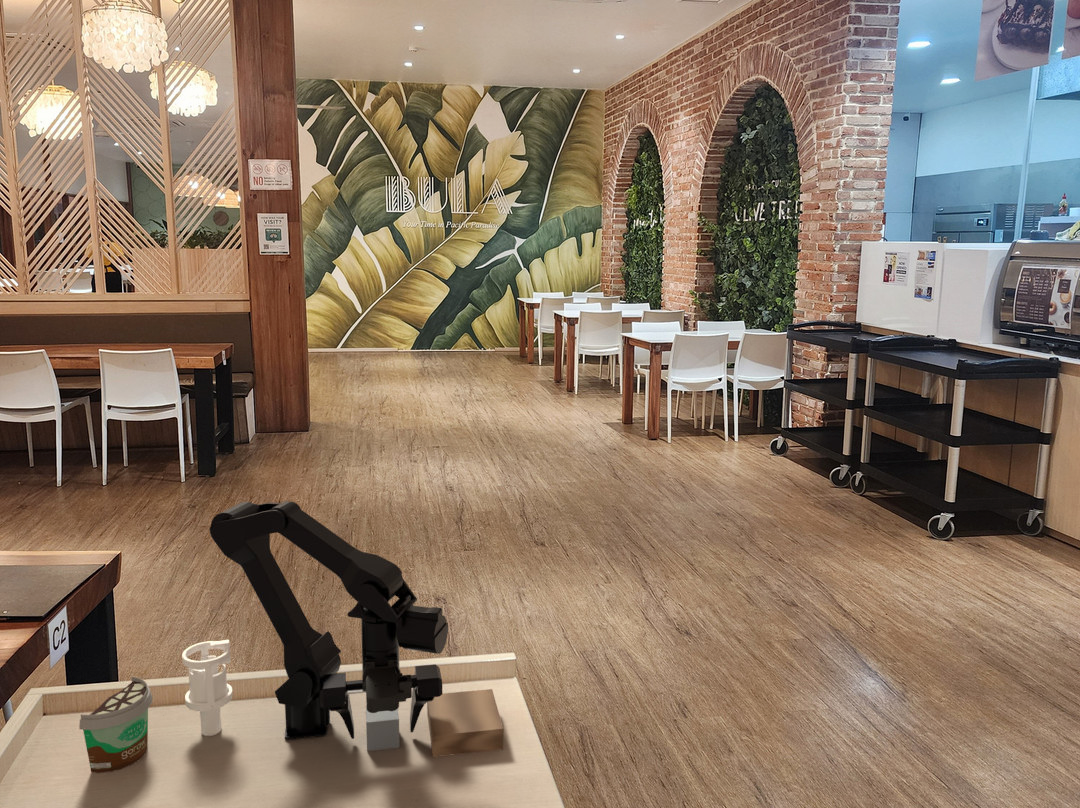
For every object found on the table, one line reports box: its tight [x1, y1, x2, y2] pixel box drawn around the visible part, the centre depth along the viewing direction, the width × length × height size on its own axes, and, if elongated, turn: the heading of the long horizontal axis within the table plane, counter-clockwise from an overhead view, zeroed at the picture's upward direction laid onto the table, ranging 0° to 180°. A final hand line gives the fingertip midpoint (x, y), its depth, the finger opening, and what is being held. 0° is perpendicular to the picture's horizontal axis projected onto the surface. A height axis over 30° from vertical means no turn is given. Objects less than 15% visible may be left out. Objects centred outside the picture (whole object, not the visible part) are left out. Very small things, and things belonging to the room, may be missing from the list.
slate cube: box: [365, 704, 400, 752], centre depth 135 cm, size 5×5×5 cm
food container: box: [78, 676, 153, 774], centre depth 130 cm, size 12×6×10 cm, turn 168°
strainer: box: [181, 639, 234, 737], centre depth 136 cm, size 7×7×15 cm
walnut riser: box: [426, 688, 504, 758], centre depth 138 cm, size 11×12×4 cm
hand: (382, 734), depth 136 cm, fingers open, 9 cm apart
